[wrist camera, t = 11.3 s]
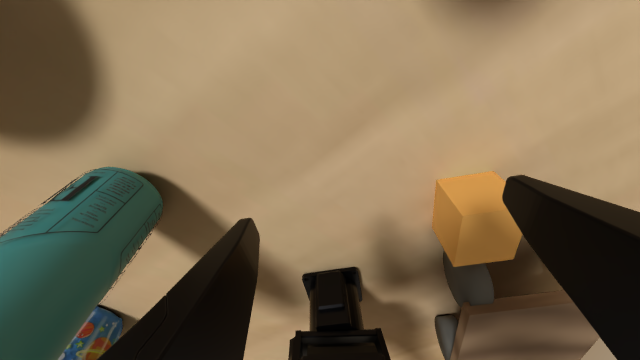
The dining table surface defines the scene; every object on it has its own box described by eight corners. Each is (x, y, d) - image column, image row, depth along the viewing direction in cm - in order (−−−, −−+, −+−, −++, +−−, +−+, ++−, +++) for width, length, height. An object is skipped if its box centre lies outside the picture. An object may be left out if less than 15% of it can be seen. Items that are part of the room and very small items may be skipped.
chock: (481, 219, 26) (513, 259, 22) (431, 226, 27) (453, 266, 22) (492, 170, 23) (532, 206, 19) (435, 179, 23) (462, 216, 19)
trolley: (526, 322, 38) (604, 435, 28) (429, 333, 39) (470, 446, 29) (580, 216, 26) (746, 344, 16) (440, 236, 27) (515, 368, 17)
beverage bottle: (124, 140, 20) (-740, 742, 4) (190, 195, 23) (-108, 653, 7) (78, 179, 22) (-632, 694, 5) (145, 225, 25) (-176, 642, 9)
